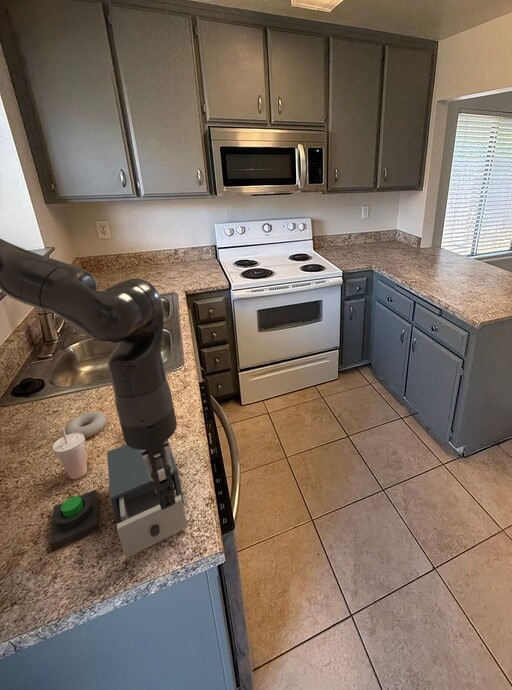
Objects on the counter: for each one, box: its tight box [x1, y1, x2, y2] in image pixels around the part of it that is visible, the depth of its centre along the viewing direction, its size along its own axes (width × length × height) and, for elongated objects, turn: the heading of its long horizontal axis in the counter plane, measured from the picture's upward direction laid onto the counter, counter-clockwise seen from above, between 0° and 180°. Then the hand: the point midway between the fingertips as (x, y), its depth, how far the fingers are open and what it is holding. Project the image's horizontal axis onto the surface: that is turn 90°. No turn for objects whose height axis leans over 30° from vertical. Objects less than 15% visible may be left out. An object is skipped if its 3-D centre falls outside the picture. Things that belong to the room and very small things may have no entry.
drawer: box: [116, 483, 188, 559], centre depth 74 cm, size 15×11×8 cm
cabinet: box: [106, 439, 184, 524], centre depth 81 cm, size 15×13×10 cm
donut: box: [65, 410, 107, 439], centre depth 103 cm, size 10×4×10 cm
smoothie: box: [51, 427, 88, 480], centre depth 86 cm, size 6×6×14 cm
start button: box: [61, 495, 83, 517], centre depth 75 cm, size 4×4×2 cm
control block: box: [49, 489, 100, 551], centre depth 76 cm, size 10×8×4 cm
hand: (164, 491), depth 60 cm, fingers open, 5 cm apart
